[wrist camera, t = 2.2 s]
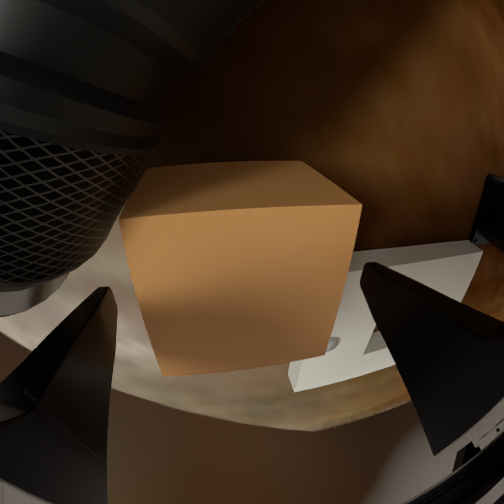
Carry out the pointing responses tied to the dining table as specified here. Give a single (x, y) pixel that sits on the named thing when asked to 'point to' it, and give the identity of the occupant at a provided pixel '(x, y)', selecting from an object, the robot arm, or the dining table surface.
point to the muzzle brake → (84, 121)
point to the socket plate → (359, 316)
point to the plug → (238, 262)
